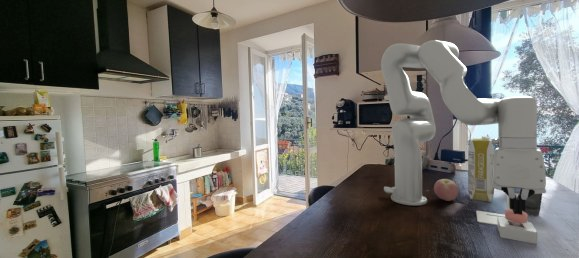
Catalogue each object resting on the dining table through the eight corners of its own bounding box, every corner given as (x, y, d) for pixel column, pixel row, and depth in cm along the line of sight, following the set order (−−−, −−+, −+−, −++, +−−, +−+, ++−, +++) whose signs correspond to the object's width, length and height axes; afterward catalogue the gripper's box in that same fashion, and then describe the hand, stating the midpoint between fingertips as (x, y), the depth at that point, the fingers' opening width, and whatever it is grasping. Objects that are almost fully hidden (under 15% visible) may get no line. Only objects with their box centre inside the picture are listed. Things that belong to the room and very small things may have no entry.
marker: (507, 222, 74) (508, 184, 74) (504, 217, 77) (505, 181, 77) (524, 225, 72) (525, 185, 72) (521, 220, 75) (522, 182, 75)
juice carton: (494, 203, 91) (494, 137, 90) (467, 199, 96) (467, 137, 95) (493, 196, 98) (493, 135, 97) (468, 193, 103) (468, 135, 102)
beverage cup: (535, 219, 77) (535, 154, 76) (508, 210, 84) (509, 151, 83) (551, 216, 78) (552, 152, 78) (524, 208, 86) (524, 149, 85)
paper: (477, 222, 76) (477, 220, 76) (476, 211, 84) (476, 210, 84) (532, 231, 69) (532, 229, 69) (524, 218, 77) (524, 217, 77)
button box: (500, 237, 66) (500, 226, 66) (497, 227, 72) (497, 217, 72) (536, 244, 62) (537, 232, 62) (530, 232, 68) (530, 222, 68)
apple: (431, 200, 96) (431, 180, 96) (437, 195, 101) (437, 176, 101) (455, 205, 90) (455, 183, 90) (460, 199, 96) (460, 179, 95)
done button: (506, 231, 67) (506, 213, 66) (503, 225, 70) (504, 208, 70) (528, 235, 64) (528, 216, 64) (525, 229, 68) (525, 211, 67)
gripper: (482, 144, 67) (482, 212, 68) (562, 146, 59) (562, 223, 59) (480, 142, 73) (481, 203, 74) (553, 143, 65) (553, 213, 66)
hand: (517, 212), depth 67 cm, fingers closed
